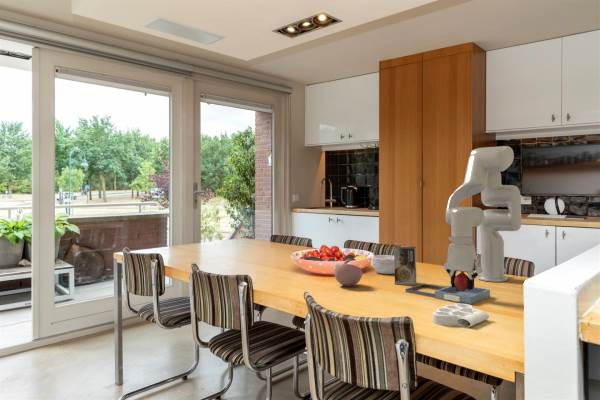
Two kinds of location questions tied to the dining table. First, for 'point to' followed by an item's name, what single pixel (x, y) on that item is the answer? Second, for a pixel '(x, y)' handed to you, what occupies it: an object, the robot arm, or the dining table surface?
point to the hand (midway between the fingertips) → (462, 287)
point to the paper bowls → (383, 264)
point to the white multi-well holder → (459, 315)
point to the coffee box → (405, 265)
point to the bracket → (413, 290)
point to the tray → (462, 295)
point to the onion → (461, 281)
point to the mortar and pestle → (347, 273)
